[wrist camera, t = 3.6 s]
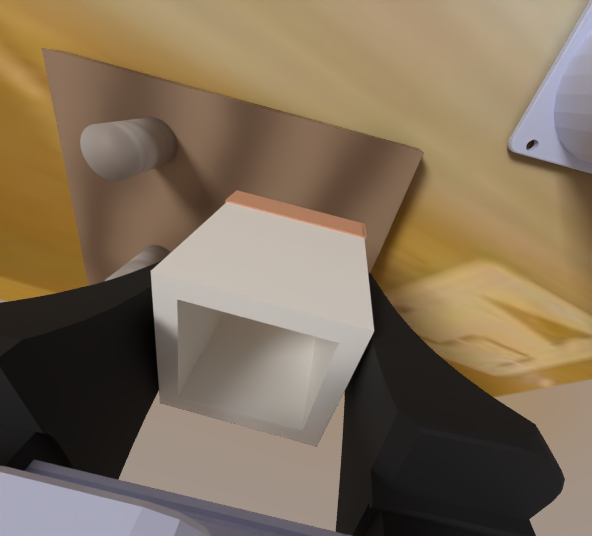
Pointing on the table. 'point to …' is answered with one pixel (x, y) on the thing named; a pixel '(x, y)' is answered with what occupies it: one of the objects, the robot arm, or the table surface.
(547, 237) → the table surface
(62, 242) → the table surface
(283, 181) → the pin board
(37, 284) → the table surface
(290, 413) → the sleeve
